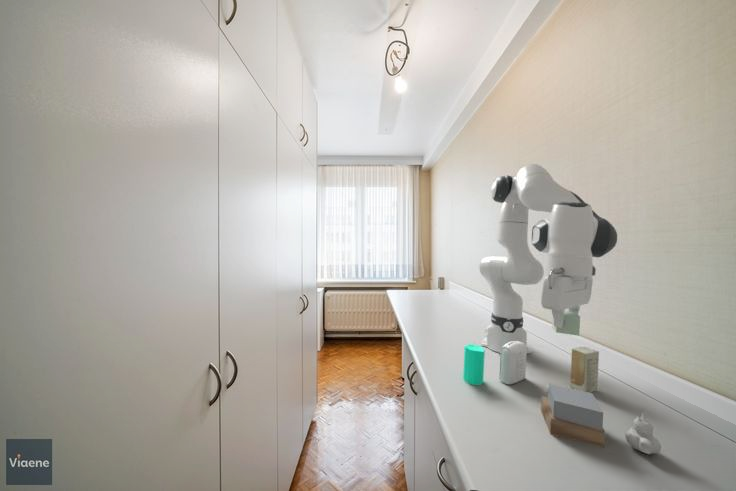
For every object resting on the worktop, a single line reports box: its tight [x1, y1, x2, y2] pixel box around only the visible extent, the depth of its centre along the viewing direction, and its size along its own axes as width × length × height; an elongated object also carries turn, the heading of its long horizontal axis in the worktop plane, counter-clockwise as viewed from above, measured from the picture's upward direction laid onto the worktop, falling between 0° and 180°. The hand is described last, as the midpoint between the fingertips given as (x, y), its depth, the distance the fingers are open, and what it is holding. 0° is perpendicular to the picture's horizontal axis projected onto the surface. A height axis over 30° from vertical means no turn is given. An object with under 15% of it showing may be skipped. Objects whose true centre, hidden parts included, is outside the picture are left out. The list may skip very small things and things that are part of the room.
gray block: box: [547, 383, 604, 431], centre depth 67 cm, size 9×9×4 cm
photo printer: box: [498, 341, 528, 385], centre depth 90 cm, size 10×4×12 cm, turn 124°
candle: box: [462, 342, 485, 386], centre depth 88 cm, size 6×6×12 cm
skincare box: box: [569, 346, 600, 393], centre depth 86 cm, size 6×4×12 cm
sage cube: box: [552, 311, 581, 337], centre depth 67 cm, size 4×4×4 cm
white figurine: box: [624, 412, 662, 455], centre depth 60 cm, size 5×7×8 cm
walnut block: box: [540, 396, 606, 448], centre depth 67 cm, size 10×10×4 cm
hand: (565, 324), depth 67 cm, fingers closed on sage cube, 6 cm apart
